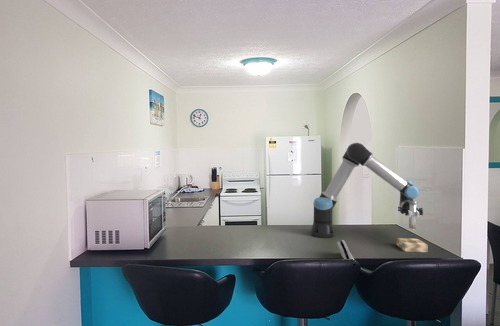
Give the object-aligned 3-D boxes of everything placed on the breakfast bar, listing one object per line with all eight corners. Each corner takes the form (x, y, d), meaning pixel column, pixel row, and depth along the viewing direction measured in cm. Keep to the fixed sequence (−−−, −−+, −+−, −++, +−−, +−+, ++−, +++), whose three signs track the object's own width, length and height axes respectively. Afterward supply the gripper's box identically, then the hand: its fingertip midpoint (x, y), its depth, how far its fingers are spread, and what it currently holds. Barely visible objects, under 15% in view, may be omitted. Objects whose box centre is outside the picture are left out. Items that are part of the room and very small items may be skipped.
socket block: (404, 251, 176) (405, 244, 176) (396, 244, 188) (396, 238, 188) (427, 252, 175) (427, 244, 175) (417, 245, 187) (418, 238, 187)
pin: (409, 228, 179) (410, 202, 179) (406, 226, 184) (407, 200, 183) (418, 228, 179) (419, 202, 178) (414, 226, 183) (415, 200, 183)
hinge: (356, 264, 155) (349, 245, 155) (347, 267, 156) (340, 248, 156) (350, 253, 172) (344, 236, 172) (341, 256, 172) (335, 238, 172)
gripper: (423, 214, 195) (431, 222, 173) (393, 212, 201) (397, 220, 179) (423, 202, 195) (431, 208, 173) (393, 200, 200) (397, 207, 178)
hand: (414, 214), depth 176 cm, fingers closed on pin, 3 cm apart
